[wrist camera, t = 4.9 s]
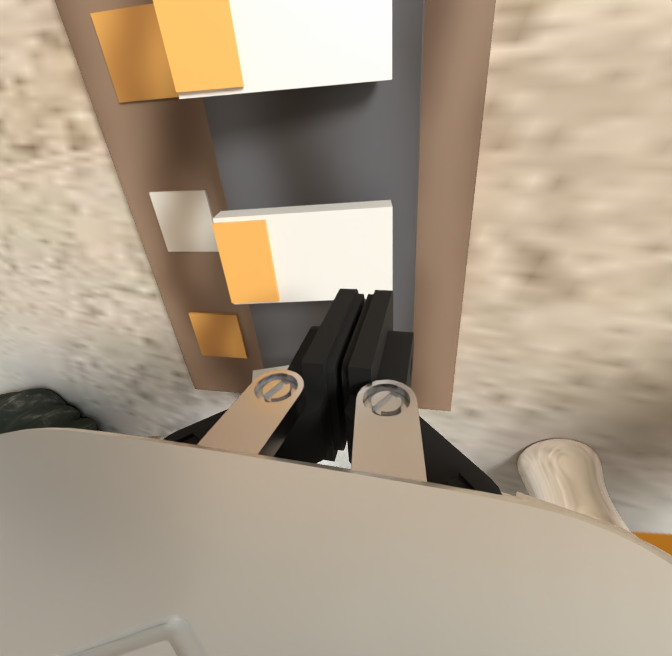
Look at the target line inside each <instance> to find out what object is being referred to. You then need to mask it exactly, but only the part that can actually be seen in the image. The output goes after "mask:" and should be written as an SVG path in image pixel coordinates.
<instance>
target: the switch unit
mask: <svg viewBox="0 0 672 656" xmlns="http://www.w3.org/2000/svg"><path fill="white" fill-rule="evenodd" d="M55 2H56V5H57V7H58V10H59V13H60V16H61V19H62V21H63V24H64V27H65V30H66V32H67V35H68V38H69V41H70V43H71V46H72V49H73V52H74V55H75V57H76V60H77V63H78V66H79V68H80V71H81V74H82V77H83V80H84V82H85V85H86V88H87V91H88V93H89V96H90V99H91V102H92V104H93V107H94V110H95V113H96V116H97V118H98V121H99V124H100V127H101V129H102V132H103V135H104V138H105V141H106V143H107V146H108V149H109V152H110V154H111V157H112V160H113V163H114V165H115V168H116V171H117V174H118V177H119V179H120V182H121V185H122V188H123V190H124V193H125V196H126V199H127V202H128V204H129V207H130V210H131V213H132V215H133V218H134V221H135V224H136V226H137V229H138V232H139V235H140V238H141V240H142V243H143V246H144V249H145V251H146V254H147V257H148V260H149V263H150V265H151V268H152V271H153V274H154V276H155V279H156V282H157V285H158V287H159V290H160V293H161V296H162V299H163V301H164V304H165V307H166V310H167V312H168V315H169V318H170V321H171V324H172V326H173V329H174V332H175V335H176V337H177V340H178V343H179V346H180V348H181V351H182V354H183V357H184V360H185V362H186V365H187V368H188V371H189V373H190V376H191V379H192V382H193V385H194V387H195V389H203V390H214V391H226V392H237V393H243V392H244V391H245V390H246V389H247V387H248V386H249V385H250V384H251V383H252V376H253V370H260V369H266V368H273V367H280V366H286V365H290V364H291V362H292V360H293V358H294V356H295V355H296V353H297V351H298V349H299V347H300V346H301V344H302V342H303V340H304V339H305V337H306V335H307V333H308V331H309V330H310V328H311V327H312V326H320V325H321V324H322V322H323V320H324V318H325V316H326V314H327V312H328V310H329V308H330V306H331V304H332V303H333V301H334V300H325V301H302V302H279V303H256V304H234V303H232V302H231V298H230V294H229V290H228V286H227V282H226V278H225V274H224V270H223V266H222V262H221V258H220V254H219V250H218V246H217V242H216V238H215V235H214V231H213V227H212V224H213V223H214V222H213V218H214V217H215V216H216V215H217V214H218V213H219V212H220V211H229V210H244V209H259V208H274V207H289V206H305V205H320V204H335V203H350V202H365V201H380V200H391V203H392V207H393V331H403V332H414V355H413V370H412V381H411V389H412V390H413V392H414V393H415V395H416V398H417V404H418V408H420V409H431V410H442V411H450V410H451V401H452V392H453V383H454V374H455V365H456V356H457V346H458V337H459V328H460V319H461V310H462V301H463V292H464V283H465V274H466V265H467V256H468V247H469V238H470V229H471V220H472V211H473V202H474V193H475V184H476V175H477V165H478V156H479V147H480V138H481V129H482V120H483V111H484V102H485V93H486V84H487V75H488V66H489V57H490V48H491V39H492V30H493V21H494V12H495V3H496V0H392V80H385V81H375V82H364V83H353V84H342V85H331V86H320V87H309V88H299V89H288V90H277V91H266V92H255V93H244V94H233V95H222V96H211V97H200V98H189V99H179V95H178V93H176V89H175V85H174V81H173V77H172V73H171V69H170V65H169V62H168V58H167V54H166V50H165V46H164V42H163V38H162V34H161V30H160V26H159V23H158V19H157V15H156V11H155V7H154V3H153V0H55ZM365 301H366V299H365Z"/></svg>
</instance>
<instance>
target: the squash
mask: <svg viewBox="0 0 672 656" xmlns="http://www.w3.org/2000/svg"><path fill="white" fill-rule="evenodd" d="M37 428H76V429H85V430H94V431H97V426H96V424H95V423H94V421H93V420H91V419H90V418H81V419H80V413H79V411H78V410H77V409H75V408H74V407H71V406H67V404H66V403H65V401H64V400H63V399H62V398H61V397H60V396H58V395H57V394H56V393H54V392H53V391H50V390H47V389H28V390H24V391H21V392H13V393H6V394H1V395H0V434H3V433H8V432H14V431H19V430H25V429H37Z"/></svg>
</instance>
